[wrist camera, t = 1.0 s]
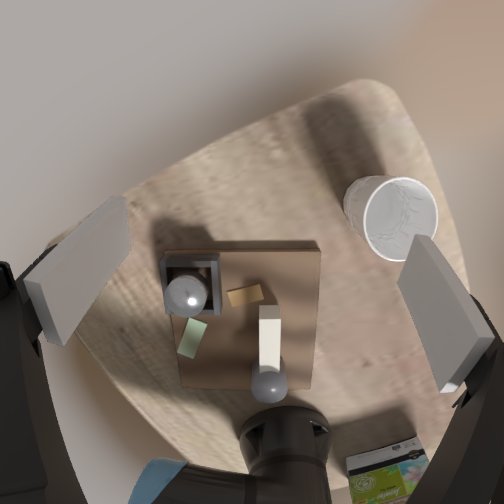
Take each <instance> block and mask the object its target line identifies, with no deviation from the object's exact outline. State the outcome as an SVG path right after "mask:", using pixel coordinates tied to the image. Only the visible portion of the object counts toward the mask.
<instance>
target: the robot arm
mask: <svg viewBox="0 0 504 504" xmlns="http://www.w3.org/2000/svg"><path fill="white" fill-rule="evenodd" d="M130 251H131V243H130V233H129V223H128V212H127V200H126V198H125V197H111V198H110V199H108V200H107V201H106V202H105V203H104V204H102V205H101V206H100V207H99V208H98V209H97V210H95V211H94V212H93V213H92V214H91V215H90V216H88V217H87V218H86V219H85V220H84V221H83V222H82V223H81V224H80V225H78V226H77V227H76V228H75V229H74V230H73V231H72V232H71V233H70V234H69V235H67V236H66V237H65V238H64V239H63V240H62V241H61V242H60V243H59V244H56V245H54V246H52V247H50V248H48V249H47V250H45V251H44V252H43V253H42V254H41V255H40V256H39V259H38V258H37V259H36V260H35V261H34V262H33V265H30V266H29V267H28V268H27V269H26V270H25V271H24V272H23V273H22V274H21V275H20V277H18V278H17V279H16V280H14V278H13V274H12V271H11V268H10V265H9V264H8V263H7V262H3V261H0V504H88V503H87V500H86V498H85V496H84V494H83V491H82V489H81V487H80V484H79V482H78V479H77V477H76V475H75V471H74V469H73V467H72V463H71V461H70V458H69V455H68V452H67V449H66V446H65V443H64V440H63V437H62V434H61V430H60V427H59V424H58V420H57V417H56V413H55V409H54V406H53V402H52V398H51V394H50V389H49V385H48V380H47V376H46V371H45V366H44V361H43V355H42V349H41V344H40V341H39V339H38V335H39V334H40V333H41V331H42V330H43V332H44V335H45V337H46V339H47V341H48V342H50V343H53V344H56V345H59V346H62V347H64V346H65V345H66V343H67V341H68V340H69V338H70V337H71V335H72V334H73V332H74V331H75V329H76V327H77V326H78V324H79V323H80V321H81V320H82V318H83V317H84V315H85V314H86V312H87V311H88V309H89V308H90V307H91V305H92V304H93V302H94V301H95V299H96V298H97V296H98V295H99V294H100V292H101V291H102V289H103V288H104V286H105V285H106V284H107V282H108V281H109V279H110V278H111V277H112V275H113V274H114V273H115V271H116V270H117V268H118V267H119V266H120V264H121V263H122V262H123V260H124V259H125V258H126V256H127V255H128V254H129V252H130ZM397 284H398V286H399V288H400V290H401V293H402V295H403V297H404V300H405V302H406V304H407V307H408V309H409V311H410V314H411V316H412V319H413V321H414V324H415V326H416V329H417V331H418V334H419V336H420V339H421V342H422V344H423V347H424V350H425V352H426V355H427V358H428V360H429V363H430V366H431V369H432V372H433V375H434V378H435V381H436V384H437V387H438V390H439V393H443V392H456V390H457V389H458V388H459V387H460V385H461V384H462V383H463V382H464V381H465V384H466V386H467V389H466V390H465V391H464V393H463V394H462V395H461V396H460V397H459V398H458V400H457V401H456V402H455V403H454V404H453V406H452V408H454V407H455V406H456V405H458V406H457V408H456V410H455V413H454V415H453V417H452V419H451V422H450V424H449V426H448V428H447V430H446V432H445V434H444V437H443V439H442V441H441V443H440V445H439V446H438V448H437V450H436V452H435V454H434V456H433V458H432V460H431V462H430V463H429V465H428V467H427V469H426V471H425V472H424V474H423V476H422V477H421V479H420V481H419V482H418V484H417V486H416V487H415V489H414V491H413V492H412V494H411V495H410V497H409V498H408V500H407V501H406V503H405V504H489V503H490V501H491V503H490V504H504V342H502V340H501V338H500V336H499V334H498V333H497V331H496V329H495V328H494V326H493V324H492V322H491V321H490V320H489V317H488V316H487V314H486V313H485V311H484V309H483V308H482V306H481V304H480V303H479V302H478V301H477V300H476V299H475V298H474V297H473V296H472V295H471V294H469V293H468V291H467V290H466V288H465V287H464V285H463V284H462V282H461V281H460V279H459V278H458V276H457V275H456V273H455V272H454V270H453V269H452V267H451V266H450V264H449V263H448V262H447V260H446V259H445V257H444V256H443V255H442V253H441V252H440V250H439V249H438V248H437V246H436V245H435V244H434V242H433V241H432V240H431V238H430V237H429V236H426V235H420V234H415V236H414V238H413V241H412V244H411V247H410V250H409V253H408V256H407V258H406V261H405V264H404V267H403V269H402V272H401V274H400V277H399V280H398V282H397ZM331 439H332V437H331V431H330V426H329V424H328V422H327V420H326V419H325V418H324V417H323V416H322V415H321V414H319V413H317V412H315V411H313V410H310V409H307V408H302V407H292V406H288V407H277V408H272V409H268V410H265V411H263V412H260V413H258V414H256V415H254V416H253V417H251V418H250V419H249V420H248V421H247V422H246V423H245V424H244V425H243V427H242V429H241V433H240V449H241V452H242V455H243V458H244V460H245V463H246V466H247V468H248V471H249V474H243V473H237V472H231V471H225V470H220V469H214V468H209V467H205V466H200V465H195V464H191V463H189V461H184V462H183V461H178V460H174V459H169V458H164V457H158V458H155V459H153V460H151V461H150V462H149V463H148V464H147V465H146V467H145V469H144V470H143V471H142V473H141V475H140V477H139V479H138V481H137V483H136V485H135V487H134V489H133V492H132V494H131V497H130V499H129V502H128V504H332V501H331V495H330V489H329V483H328V477H327V472H326V462H327V458H328V454H329V450H330V446H331Z"/></svg>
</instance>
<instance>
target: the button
mask: <svg viewBox="0 0 504 504" xmlns="http://www.w3.org/2000/svg"><path fill="white" fill-rule="evenodd" d="M208 294H209V285H208V282H207V280H206V279H205V277H204V276H203V275H201V274H200V273H198V272H196V271H193V270H184V271H181V272H179V273H178V274H177V275H176V276H175V277H174V278H173V280H172V281H171V283H170V284H169V285H168V287H167V288H166V291H165V296H164V297H165V302H166V305H167V307H168V308H169V309H170V310H171V311H172V312H173V313H174V314H176V315H178V316H180V317H185V318H189V317H194V316H196V315H198V314H199V313H200V312H201V311H202V309H203V307H204V305H205V302H206V300H207V297H208Z"/></svg>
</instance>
